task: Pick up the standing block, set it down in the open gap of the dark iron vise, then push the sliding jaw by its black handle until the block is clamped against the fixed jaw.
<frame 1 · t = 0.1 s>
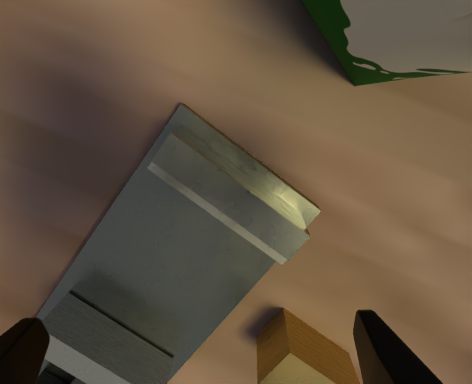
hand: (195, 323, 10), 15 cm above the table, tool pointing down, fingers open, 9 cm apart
vise: (150, 288, 27), on the table
block: (302, 343, 28), on the table
jaw: (82, 382, 26), point 3 cm above the table, slide at 0.0 cm
milk carton: (372, 4, 21), on the table
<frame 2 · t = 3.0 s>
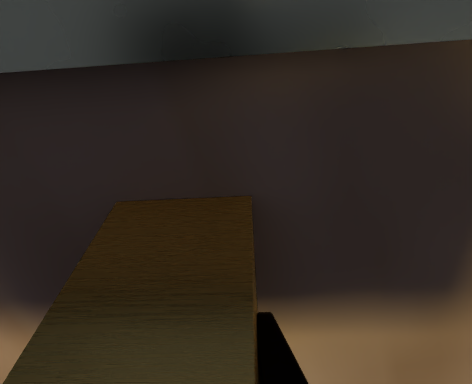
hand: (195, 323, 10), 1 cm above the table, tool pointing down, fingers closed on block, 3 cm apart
block: (200, 294, 10), on the table, touching gripper
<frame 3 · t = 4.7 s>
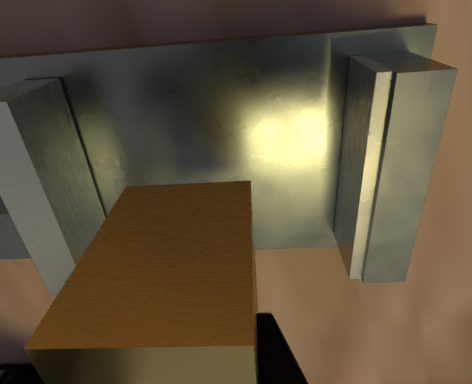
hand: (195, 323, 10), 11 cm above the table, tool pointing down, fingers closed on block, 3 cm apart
vise: (158, 159, 19), on the table
block: (202, 276, 11), point 9 cm above the table, touching gripper
when the fingers open (3 cm above the table, at t = 6.3 s): block stays where it is, resting on vise.
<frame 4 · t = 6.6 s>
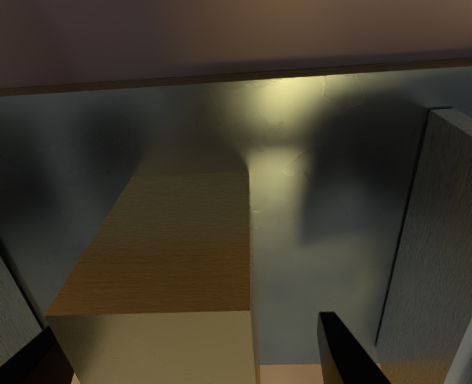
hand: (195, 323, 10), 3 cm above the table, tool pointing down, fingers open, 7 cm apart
vise: (116, 246, 13), on the table
block: (204, 263, 12), point 1 cm above the table, touching vise
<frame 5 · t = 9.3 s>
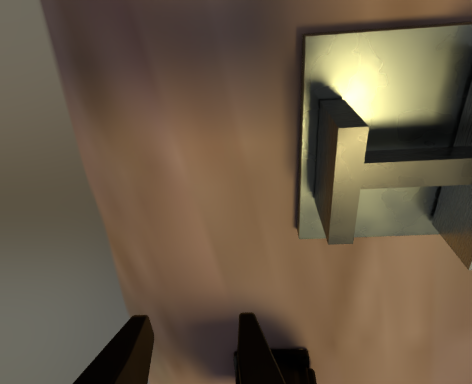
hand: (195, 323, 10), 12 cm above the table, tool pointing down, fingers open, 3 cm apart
jaw: (419, 167, 16), point 3 cm above the table, slide at 0.0 cm
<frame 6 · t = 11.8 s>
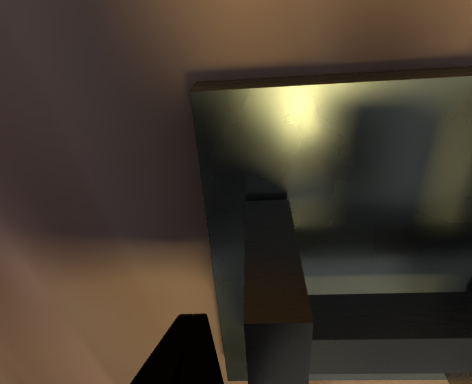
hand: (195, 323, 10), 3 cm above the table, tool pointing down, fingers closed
jaw: (425, 331, 9), point 3 cm above the table, slide at 0.4 cm, touching gripper
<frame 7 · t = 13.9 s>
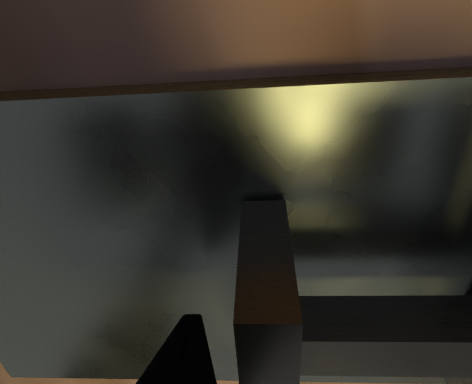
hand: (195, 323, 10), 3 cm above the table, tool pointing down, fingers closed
vise: (328, 253, 12), on the table
jaw: (421, 335, 9), point 3 cm above the table, slide at 9.9 cm, touching block, gripper
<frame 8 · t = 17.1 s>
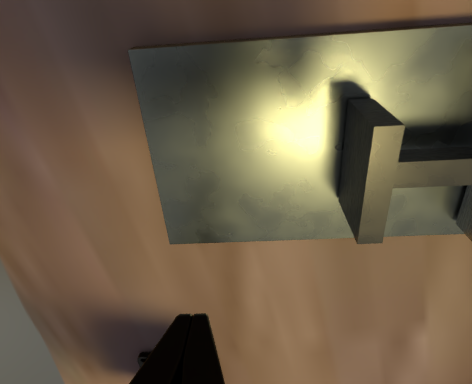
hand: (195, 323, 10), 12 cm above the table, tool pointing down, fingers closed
vise: (387, 143, 19), on the table
jaw: (448, 166, 16), point 3 cm above the table, slide at 9.9 cm
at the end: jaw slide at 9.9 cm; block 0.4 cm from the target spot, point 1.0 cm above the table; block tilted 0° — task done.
